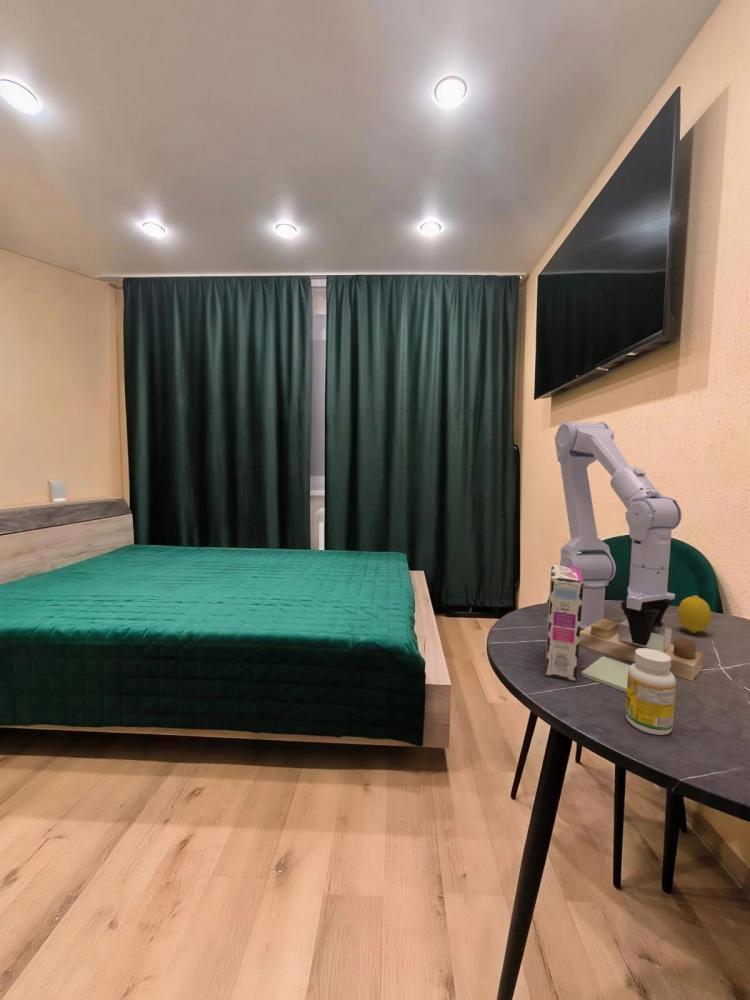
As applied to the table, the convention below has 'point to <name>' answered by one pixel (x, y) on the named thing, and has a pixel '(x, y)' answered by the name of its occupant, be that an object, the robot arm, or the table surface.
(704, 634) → the table surface
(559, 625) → the candy bar box
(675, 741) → the table surface
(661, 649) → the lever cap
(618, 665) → the felt mat
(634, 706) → the supplement bottle
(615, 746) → the table surface
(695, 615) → the lemon
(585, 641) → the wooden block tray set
